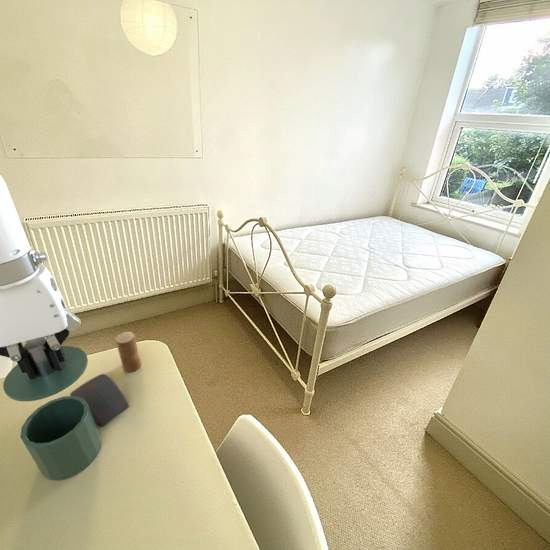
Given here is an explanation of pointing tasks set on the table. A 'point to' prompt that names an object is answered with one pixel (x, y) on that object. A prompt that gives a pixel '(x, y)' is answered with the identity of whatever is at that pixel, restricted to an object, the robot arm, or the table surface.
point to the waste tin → (62, 437)
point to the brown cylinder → (128, 351)
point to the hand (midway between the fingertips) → (46, 367)
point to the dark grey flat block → (102, 398)
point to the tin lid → (44, 372)
